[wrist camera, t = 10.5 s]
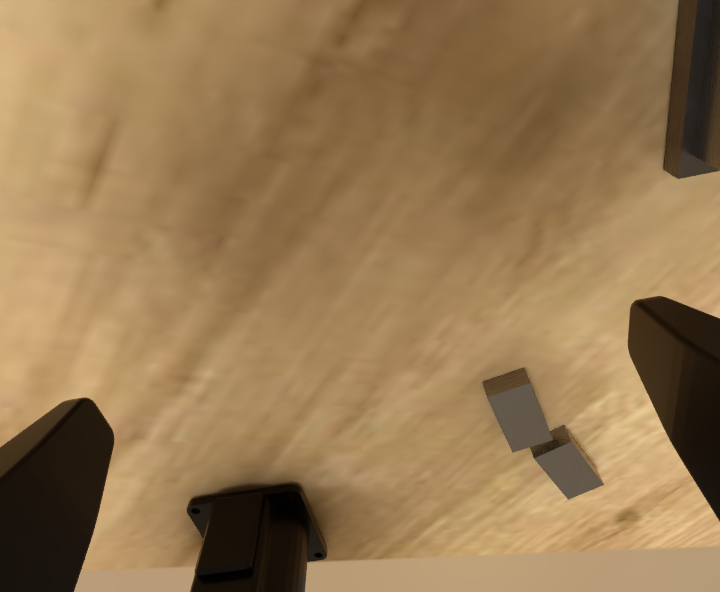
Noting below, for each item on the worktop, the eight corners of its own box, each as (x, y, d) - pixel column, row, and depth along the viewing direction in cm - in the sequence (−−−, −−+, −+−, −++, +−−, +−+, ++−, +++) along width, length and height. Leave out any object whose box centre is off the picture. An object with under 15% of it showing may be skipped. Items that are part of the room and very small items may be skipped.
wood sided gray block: (593, 463, 28) (604, 484, 27) (559, 477, 29) (568, 499, 28) (562, 420, 26) (571, 441, 25) (526, 437, 27) (533, 458, 26)
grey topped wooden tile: (544, 419, 26) (552, 440, 25) (505, 430, 27) (512, 452, 26) (522, 363, 24) (530, 382, 23) (481, 377, 25) (487, 397, 24)
